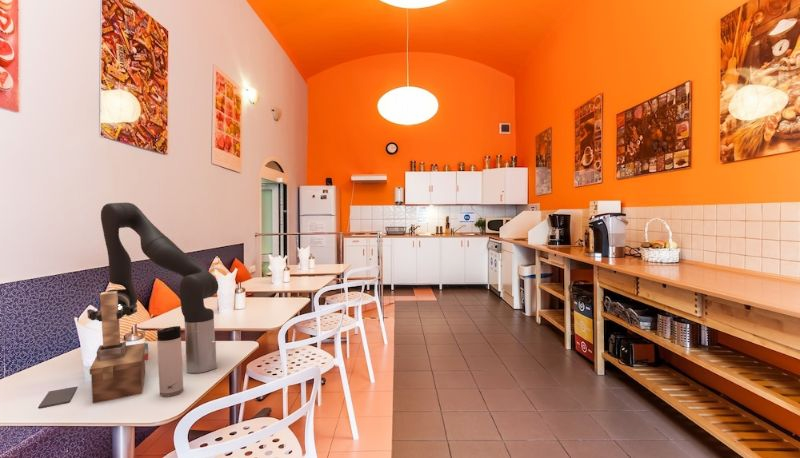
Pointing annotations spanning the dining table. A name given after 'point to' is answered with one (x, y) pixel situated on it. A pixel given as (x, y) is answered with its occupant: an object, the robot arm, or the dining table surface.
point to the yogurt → (146, 351)
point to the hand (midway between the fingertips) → (109, 316)
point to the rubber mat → (58, 397)
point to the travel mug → (170, 361)
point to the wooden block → (110, 318)
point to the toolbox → (118, 371)
